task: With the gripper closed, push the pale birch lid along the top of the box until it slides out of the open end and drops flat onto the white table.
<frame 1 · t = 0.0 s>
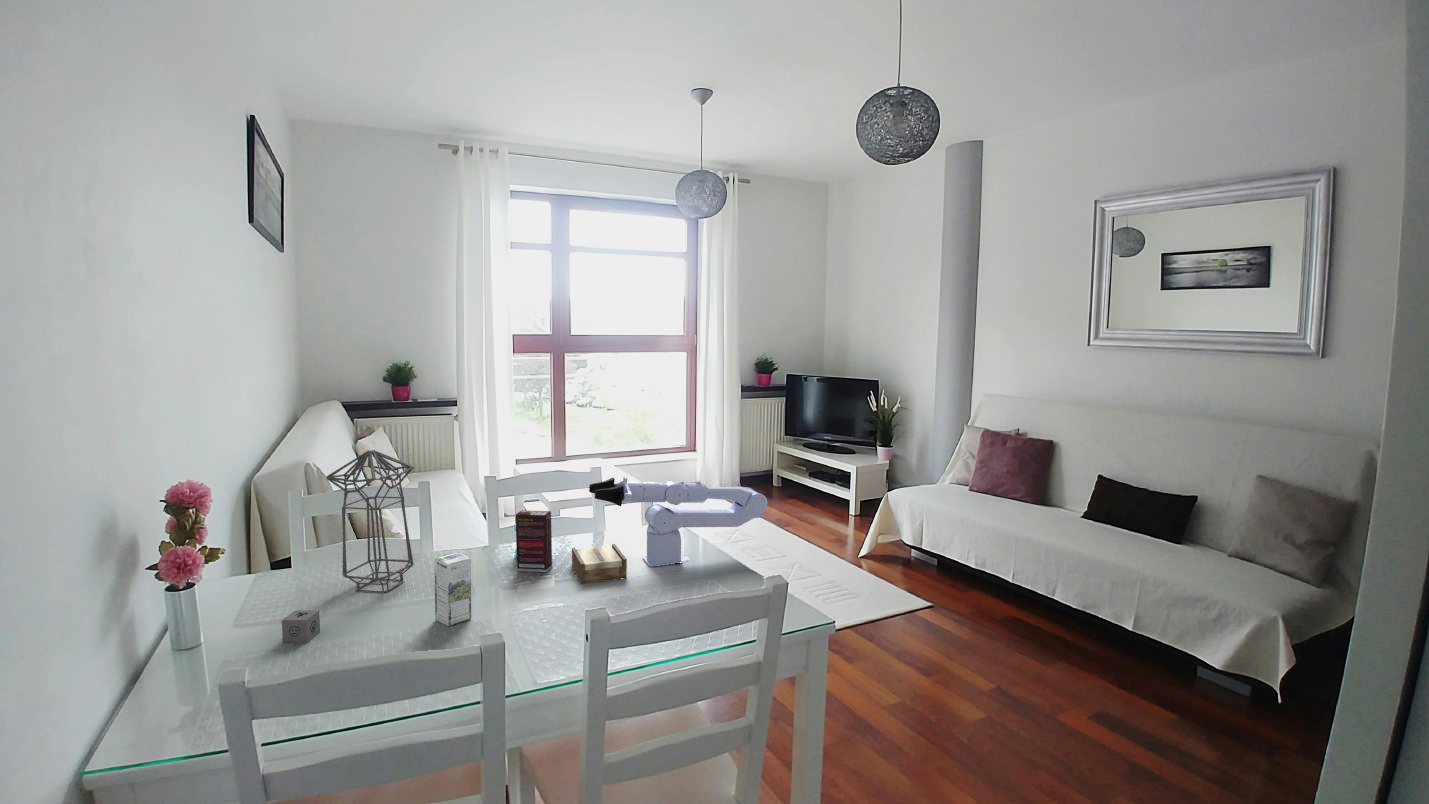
hand: (592, 491, 189), 22 cm above the table, tool horizontal, fingers open, 7 cm apart
dice cube: (301, 638, 147), on the table
lid: (598, 560, 188), point 3 cm above the table, touching box
box: (598, 572, 189), on the table
supplement box: (534, 569, 190), on the table
donuts: (533, 556, 202), on the table
geometric lantern: (376, 587, 176), on the table
syrup box: (453, 620, 157), on the table
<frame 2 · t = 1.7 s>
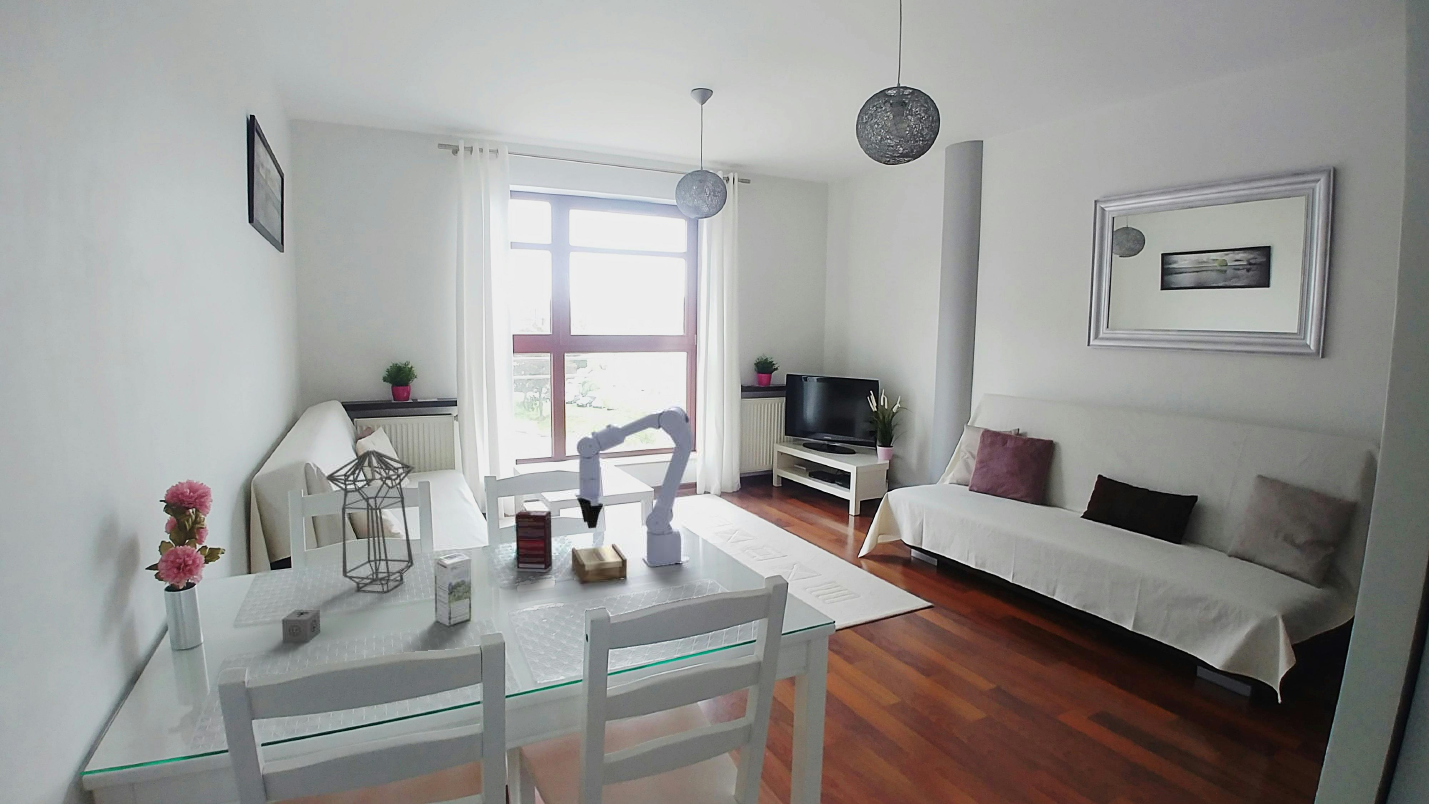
hand: (589, 524, 199), 10 cm above the table, tool pointing down, fingers open, 6 cm apart
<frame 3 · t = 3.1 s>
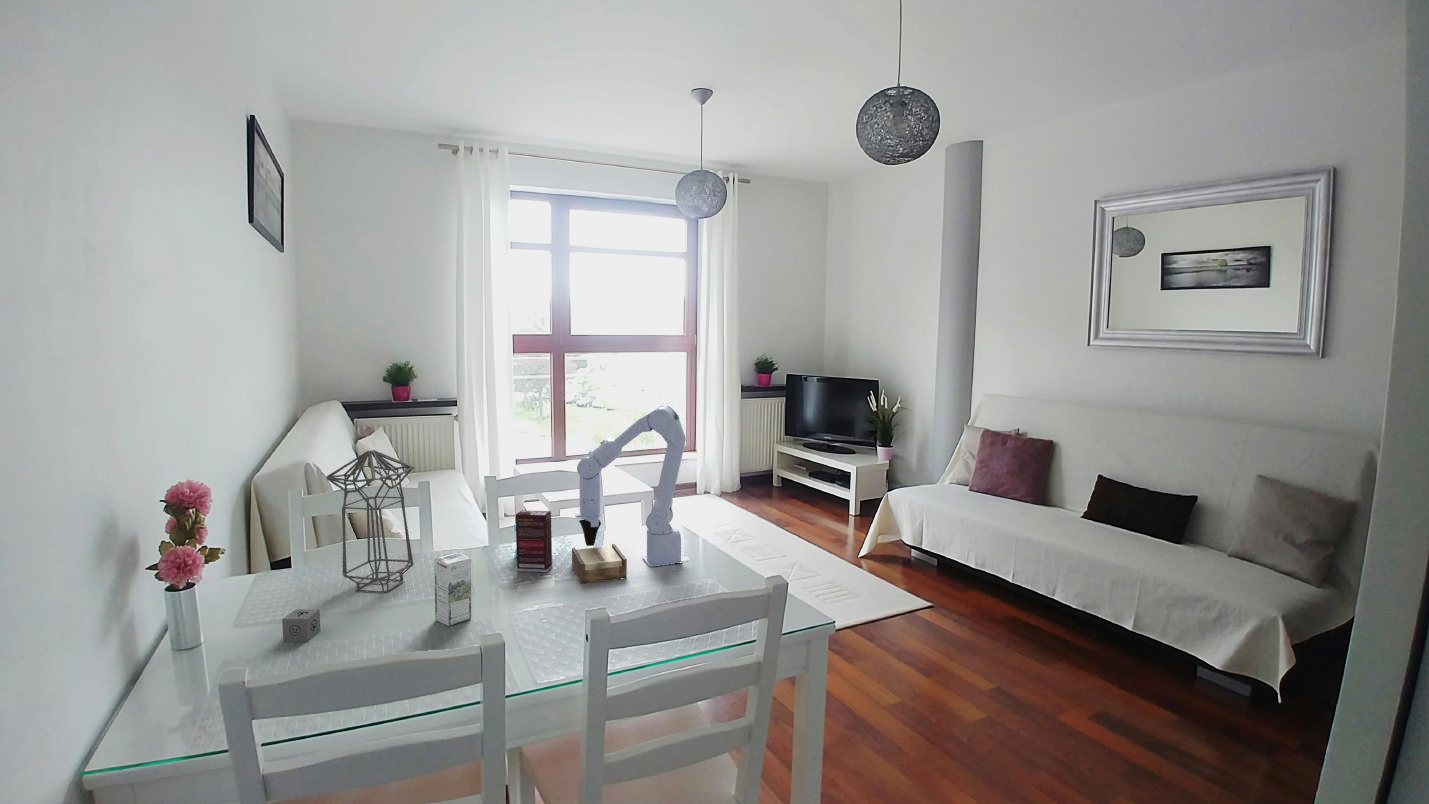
hand: (590, 545, 199), 4 cm above the table, tool pointing down, fingers closed
nothing on the table moved.
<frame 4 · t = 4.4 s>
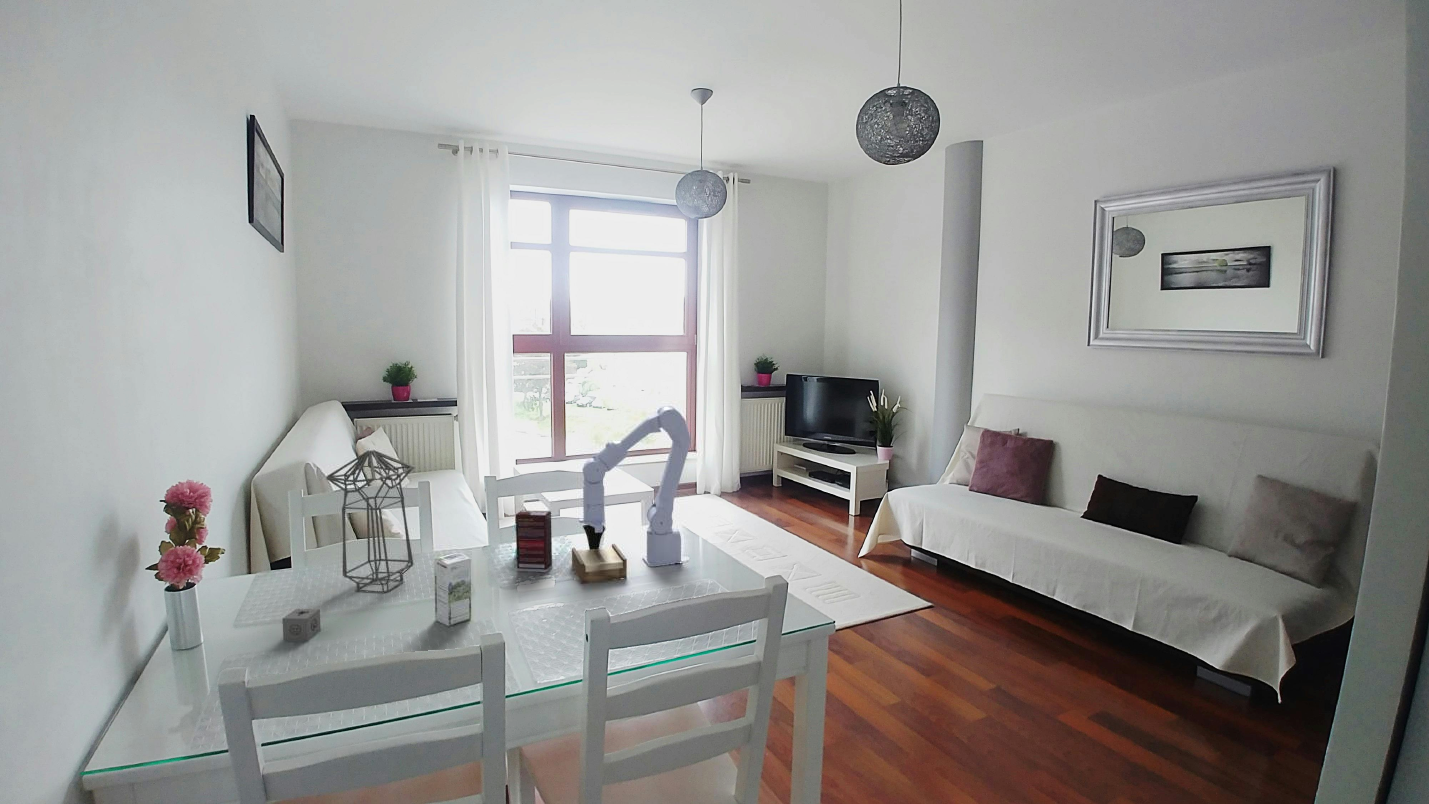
hand: (594, 550, 194), 4 cm above the table, tool pointing down, fingers closed
lid: (599, 562, 187), point 3 cm above the table, touching gripper
everything else where it was.
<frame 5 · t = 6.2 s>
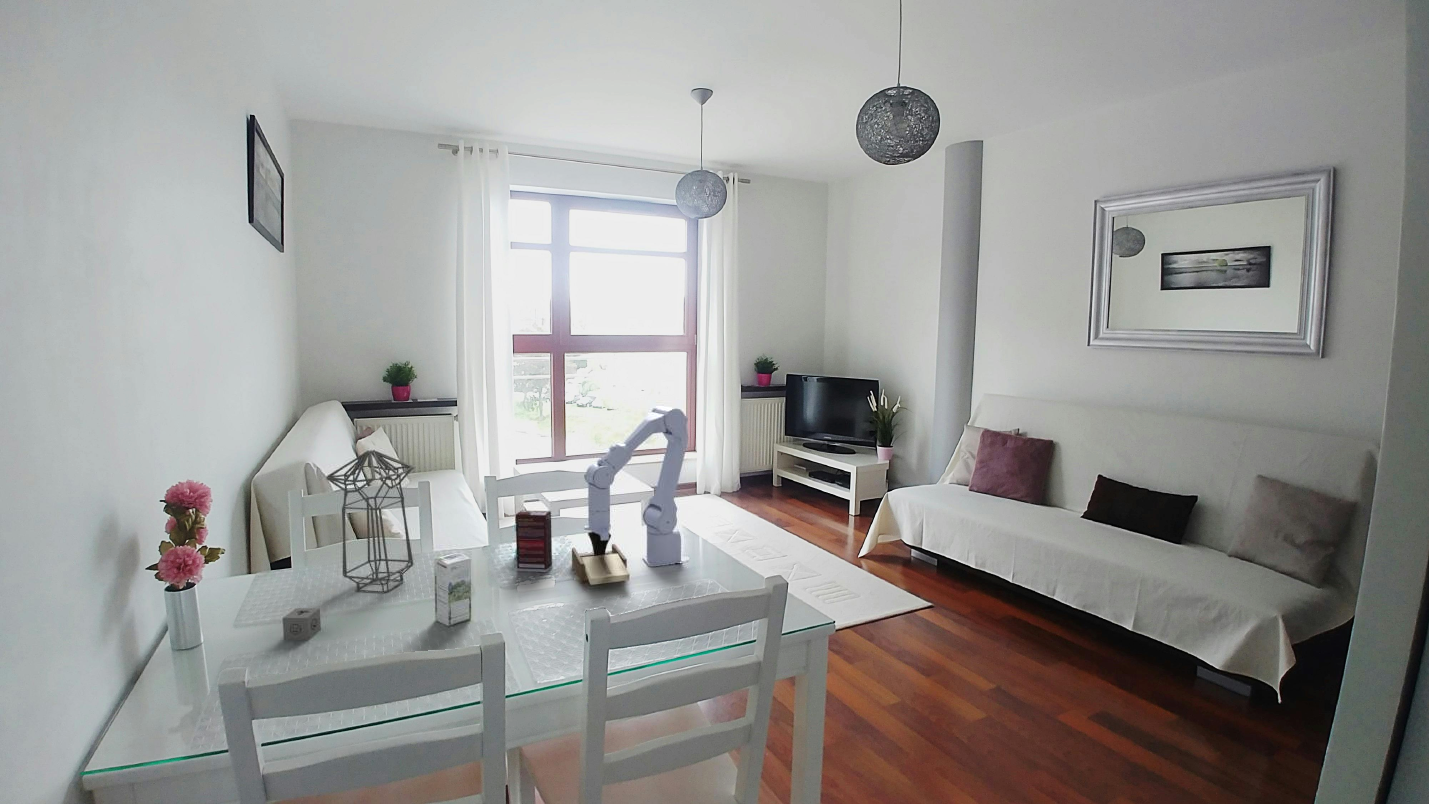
hand: (599, 558, 187), 4 cm above the table, tool pointing down, fingers closed
lid: (604, 571, 181), point 3 cm above the table, tilted 6°, touching box
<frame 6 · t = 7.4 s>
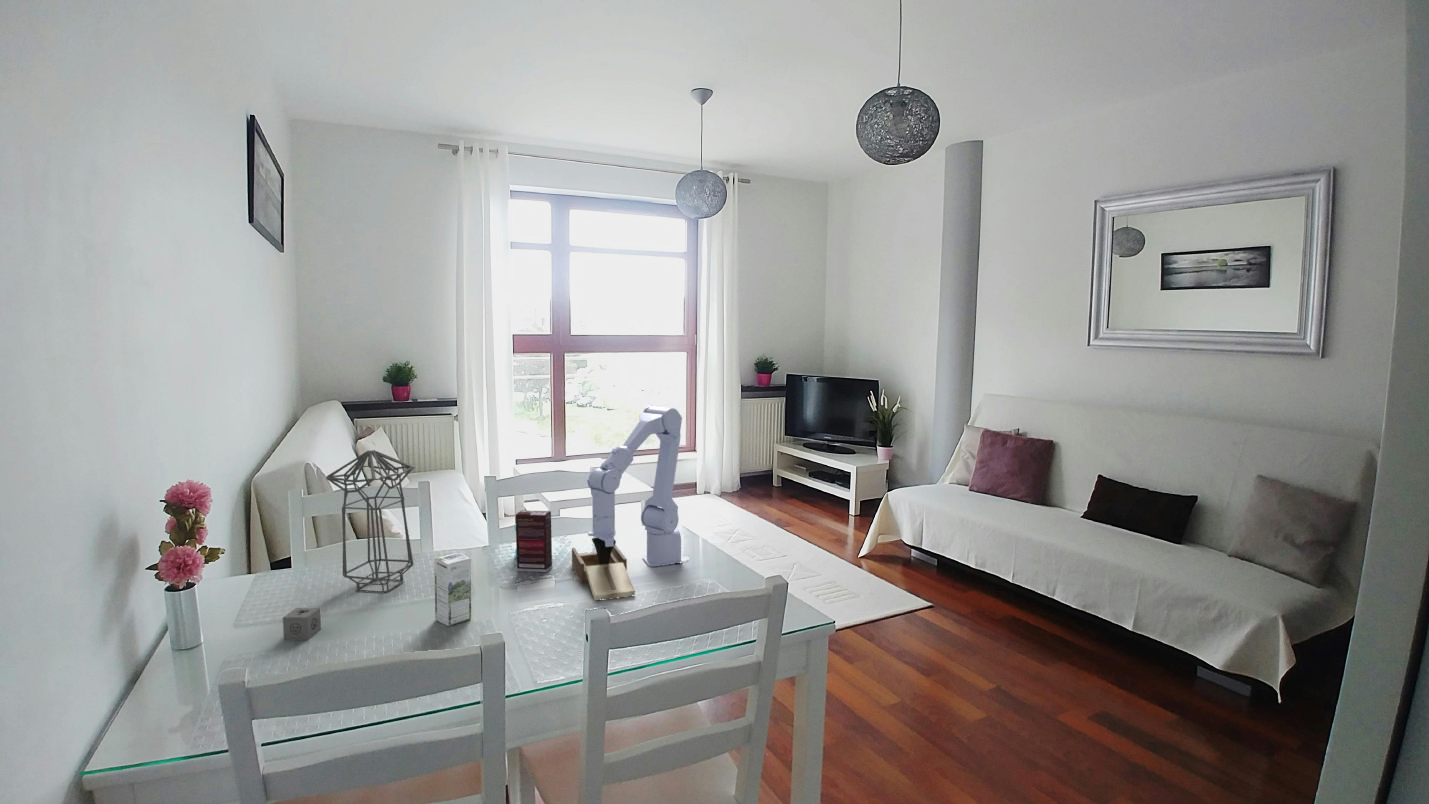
hand: (603, 565, 182), 4 cm above the table, tool pointing down, fingers closed
lid: (609, 583, 176), point 2 cm above the table, tilted 14°
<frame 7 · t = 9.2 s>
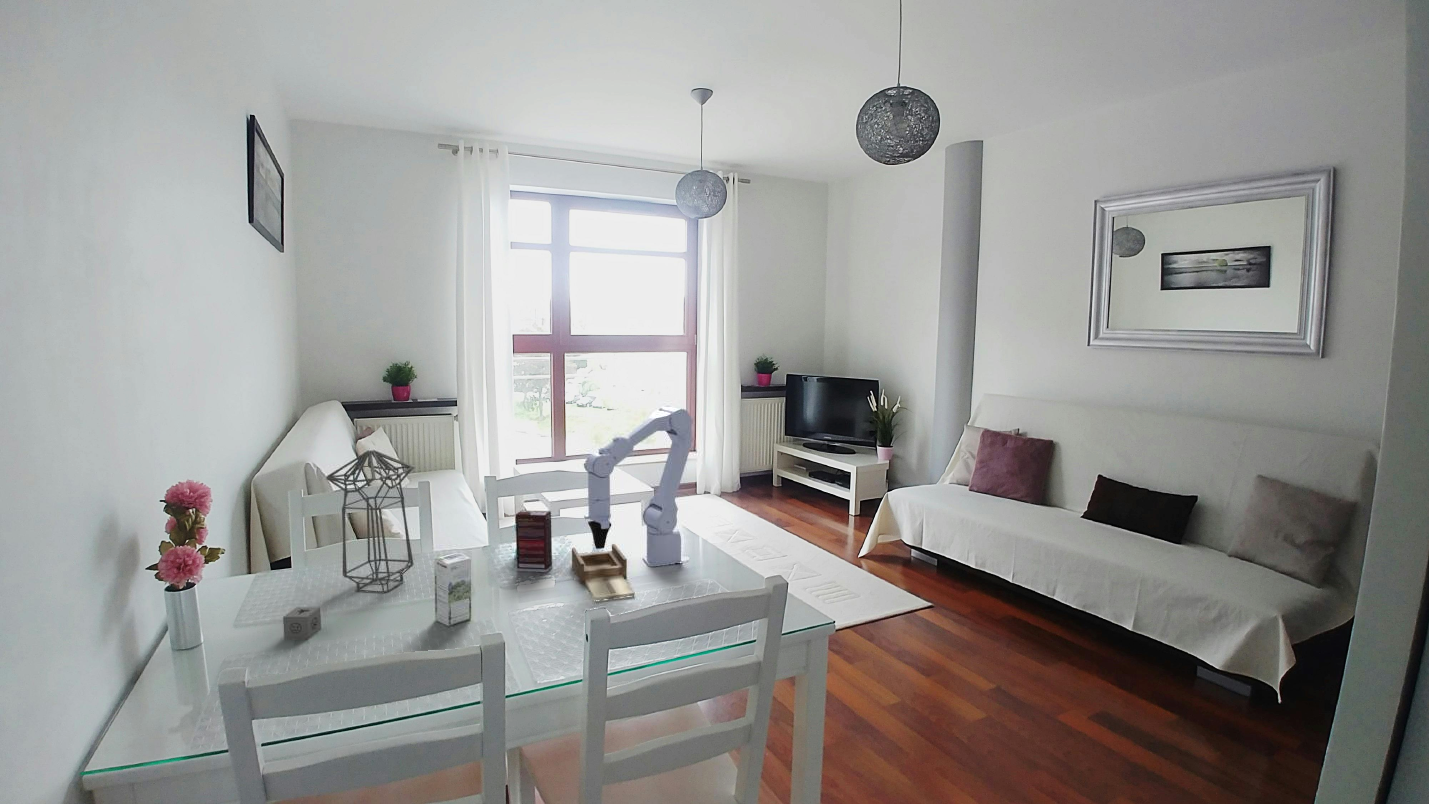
hand: (599, 547, 187), 7 cm above the table, tool pointing down, fingers closed
lid: (609, 592, 176), on the table
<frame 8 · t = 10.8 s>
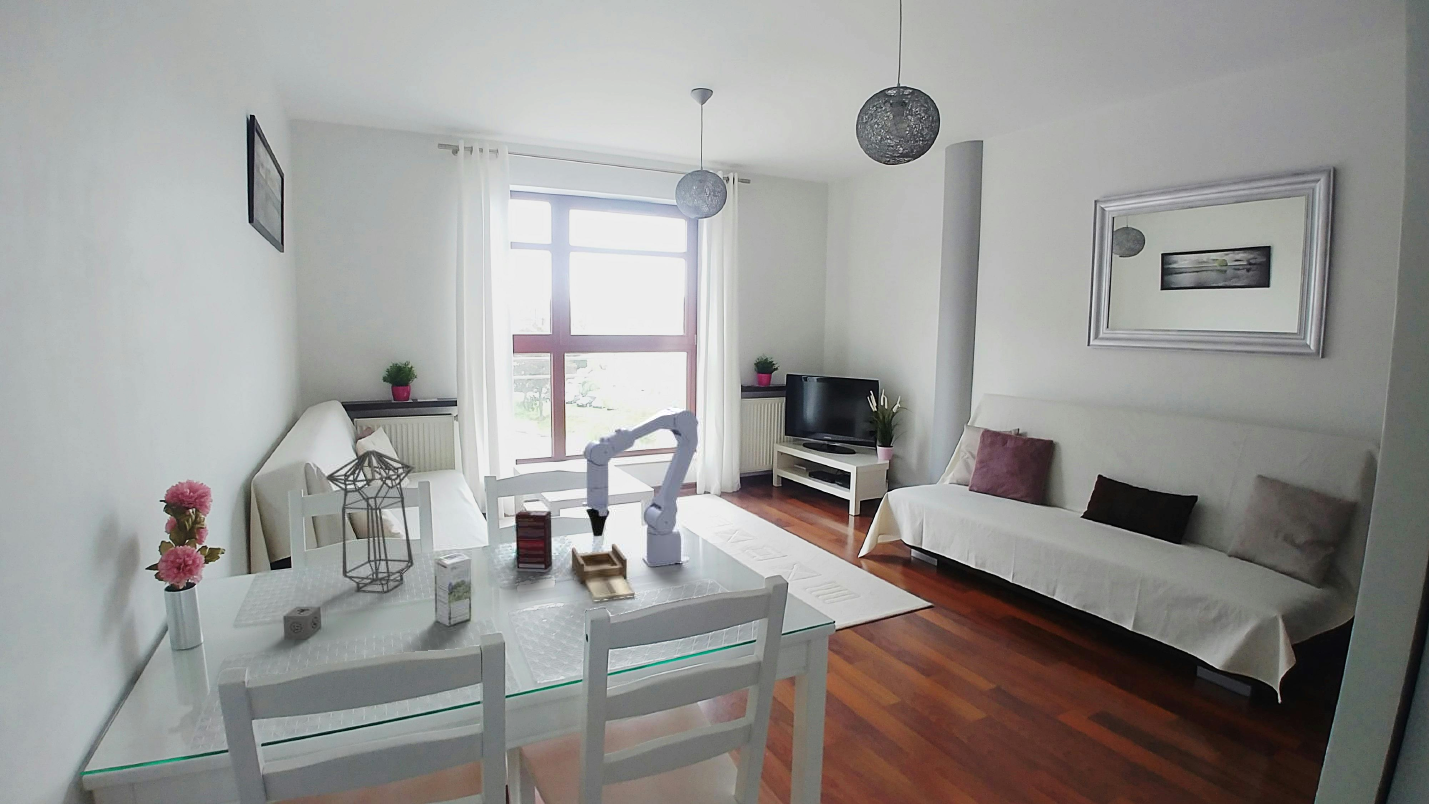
hand: (597, 535, 189), 10 cm above the table, tool pointing down, fingers closed
at the end: lid inside the target area (3.9 cm from its centre), on the table; lid moved 14.1 cm from its start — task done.
